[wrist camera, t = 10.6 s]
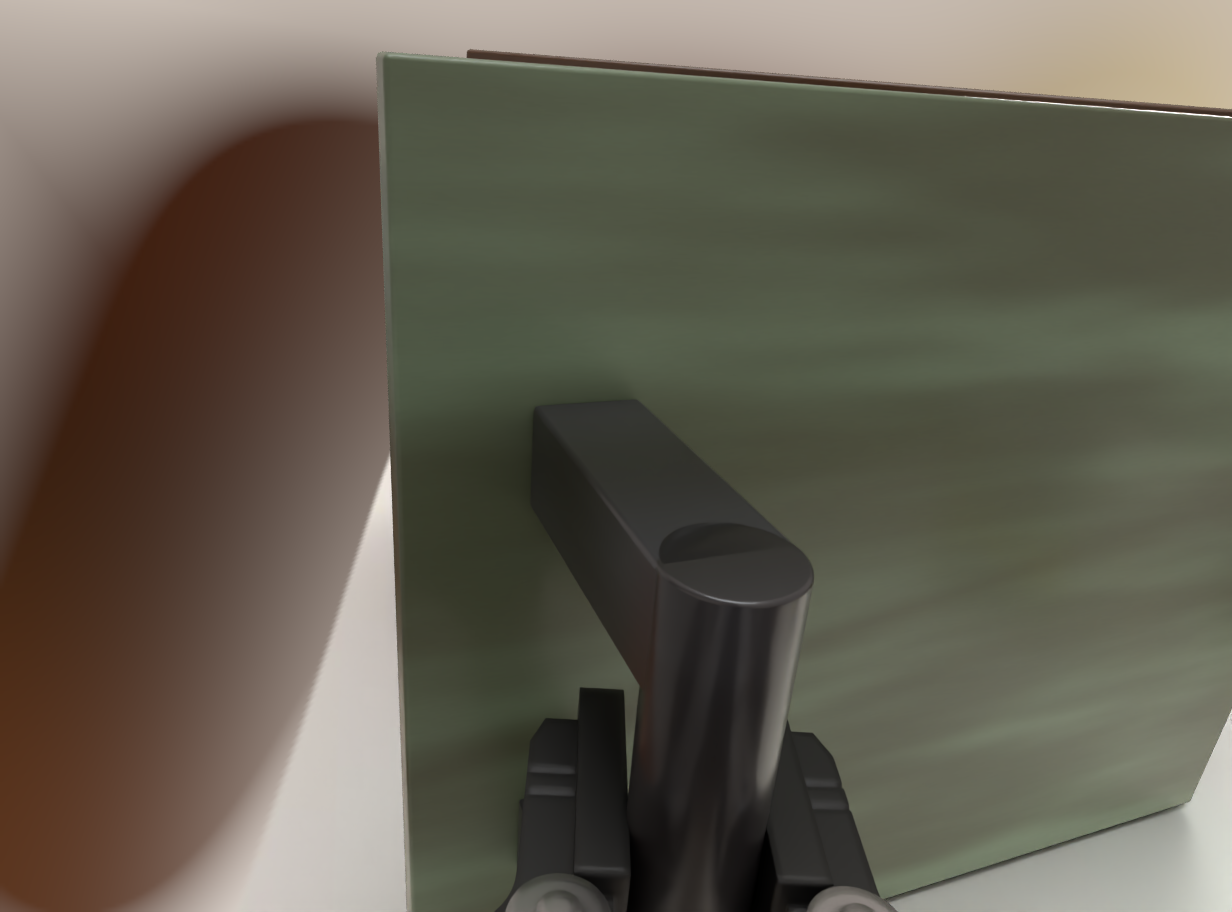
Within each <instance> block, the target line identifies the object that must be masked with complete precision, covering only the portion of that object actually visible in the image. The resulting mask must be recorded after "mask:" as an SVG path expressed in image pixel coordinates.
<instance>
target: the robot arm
mask: <svg viewBox="0 0 1232 912" xmlns="http://www.w3.org/2000/svg"><path fill="white" fill-rule="evenodd" d="M627 801H628V782H627V755H626V727H625V700H624V690H623V689H604V688H586V687H580V690H579V702H578V714H577V720H571V719H553V718H545V720H544V721H543V723H542V724H541V726H540V727H539V728H538V730H537V731H536V733H535V734H534V736H533V737H532V739H531V740H530V747H529V756H528V766H527V776H526V785H525V795H524V804H523V814H522V824H521V833H520V843H519V852H518V862H517V872H516V878H515V882H514V885H513V888H512V890H511V892H510V894H509V895H508V897H507V899H506V900H505V901H504V902H503V903H502V905H501V906H500V907H499V908H498V909H497V910H495V911H494V912H626V910H627V902H628V894H629V886H630V878H631V865H630V837H629V827H628V823H627V815H626V811H627ZM750 912H897V911H896V910H895V909H894V908H893V907H892V906H891V905H890V904H889V903H887V902H886V901H885V900H884V899H882V898H881V897H880V895H879V893H878V890H877V887H876V884H875V881H874V878H873V875H872V872H871V869H870V866H869V863H868V860H867V857H866V854H865V851H864V848H863V845H862V842H861V839H860V836H859V833H858V830H857V827H856V824H855V821H854V818H853V815H852V812H851V811H850V810H849V803H848V800H847V797H846V794H845V791H844V789H842V781H841V778H840V775H839V772H838V769H837V766H836V763H835V760H834V757H833V756H832V755H831V753H830V752H829V751H828V750H827V749H826V747H825V746H824V745H823V744H822V743H821V742H820V740H819V739H818V738H817V737H816V736H815V735H814V733H810V732H792V731H791V729H790V726H789V722H788V719H787V724H786V729H785V734H784V739H783V745H782V750H781V755H780V760H779V765H778V770H777V776H776V781H775V786H774V791H773V796H772V801H771V807H770V812H769V817H768V822H767V827H766V833H765V838H764V843H763V848H762V853H761V858H760V864H759V869H758V874H757V879H756V884H755V890H754V895H753V900H752V905H751V910H750Z"/></svg>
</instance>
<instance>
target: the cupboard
mask: <svg viewBox="0 0 1232 912" xmlns="http://www.w3.org/2000/svg"><path fill="white" fill-rule="evenodd" d="M467 58H472V59H485V60H498V61H511V62H524V63H537V64H550V65H563V66H576V67H589V68H602V69H615V70H628V71H641V72H654V73H667V74H680V75H693V76H706V77H719V78H732V79H745V80H758V81H771V82H784V83H797V84H810V85H823V86H836V87H849V88H862V89H875V90H888V91H901V92H914V93H927V94H940V95H953V96H966V97H979V98H992V99H1005V100H1018V101H1031V102H1044V103H1057V104H1070V105H1083V106H1096V107H1109V108H1122V109H1135V110H1148V111H1161V112H1174V113H1187V114H1200V115H1213V116H1226V117H1232V109H1221V108H1208V107H1194V106H1182V105H1170V104H1156V103H1144V102H1131V101H1119V100H1106V99H1094V98H1080V97H1068V96H1056V95H1043V94H1042V95H1041V94H1030V93H1017V92H1005V91H992V90H979V89H967V88H954V87H941V86H927V85H916V84H903V83H891V82H877V81H864V80H851V79H840V78H827V77H813V76H802V75H788V74H776V73H764V72H750V71H737V70H726V69H713V68H700V67H687V66H675V65H662V64H649V63H636V62H624V61H611V60H599V59H586V58H572V57H561V56H548V55H535V54H522V53H510V52H497V51H484V50H472V49H470V50H468V51H467Z"/></svg>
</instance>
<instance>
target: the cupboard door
mask: <svg viewBox="0 0 1232 912" xmlns="http://www.w3.org/2000/svg"><path fill="white" fill-rule="evenodd" d="M376 69H377V96H378V123H379V124H378V126H379V153H380V180H381V207H382V233H383V234H382V235H383V263H384V288H385V289H384V292H385V317H386V318H385V319H386V347H387V374H388V398H389V399H388V401H389V429H390V457H391V485H392V513H393V540H394V568H395V596H396V623H397V651H398V679H399V706H400V734H401V761H402V789H403V817H404V844H405V872H406V900H407V912H494V911H495V910H497V909H498V908H499V907H500V906H501V905H502V903H503V902H504V901H505V900H506V899H507V897H508V895H509V894H510V892H511V890H512V888H513V885H514V882H515V878H516V872H517V862H518V852H519V843H520V833H521V824H522V814H523V804H524V795H525V785H526V776H527V766H528V756H529V747H530V740H531V739H532V737H533V736H534V734H535V733H536V731H537V730H538V728H539V727H540V726H541V724H542V723H543V721H544V720H545V718H553V719H571V720H577V714H578V702H579V690H580V687H586V688H604V689H623V690H624V700H625V727H626V755H627V782H628V801H627V811H626V815H627V823H628V827H629V837H630V865H631V878H630V886H629V894H628V902H627V910H626V912H750V910H751V905H752V900H753V895H754V890H755V884H756V879H757V874H758V869H759V864H760V858H761V853H762V848H763V843H764V838H765V833H766V827H767V822H768V817H769V812H770V807H771V801H772V796H773V791H774V786H775V781H776V776H777V770H778V765H779V760H780V755H781V750H782V745H783V739H784V734H785V729H786V724H787V719H788V722H789V726H790V729H791V731H792V732H810V733H814V735H815V736H816V737H817V738H818V739H819V740H820V742H821V743H822V744H823V745H824V746H825V747H826V749H827V750H828V751H829V752H830V753H831V755H832V756H833V757H834V760H835V763H836V766H837V769H838V772H839V775H840V778H841V781H842V789H844V791H845V794H846V797H847V800H848V803H849V810H850V811H851V812H852V815H853V818H854V821H855V824H856V827H857V830H858V833H859V836H860V839H861V842H862V845H863V848H864V851H865V854H866V857H867V860H868V863H869V866H870V869H871V872H872V875H873V878H874V881H875V884H876V887H877V890H878V893H879V895H880V897H881V898H882V899H886V898H889V897H892V896H895V895H898V894H901V893H905V892H908V891H911V890H914V889H917V888H920V887H923V886H926V885H930V884H933V883H936V882H939V881H942V880H945V879H948V878H952V877H955V876H958V875H961V874H964V873H967V872H970V871H973V870H977V869H980V868H983V867H986V866H989V865H992V864H995V863H998V862H1002V861H1005V860H1008V859H1011V858H1014V857H1017V856H1020V855H1024V854H1027V853H1030V852H1033V851H1036V850H1039V849H1042V848H1045V847H1049V846H1052V845H1055V844H1058V843H1061V842H1064V841H1067V840H1070V839H1074V838H1077V837H1080V836H1083V835H1086V834H1089V833H1092V832H1096V831H1099V830H1102V829H1105V828H1108V827H1111V826H1114V825H1117V824H1121V823H1124V822H1127V821H1130V820H1133V819H1136V818H1139V817H1143V816H1146V815H1149V814H1152V813H1155V812H1158V811H1161V810H1164V809H1168V808H1171V807H1174V806H1177V805H1180V804H1183V803H1186V802H1189V801H1190V800H1191V798H1192V796H1193V793H1194V791H1195V789H1196V787H1197V785H1198V782H1199V780H1200V778H1201V776H1202V774H1203V771H1204V769H1205V767H1206V765H1207V763H1208V760H1209V758H1210V756H1211V754H1212V751H1213V749H1214V747H1215V745H1216V743H1217V740H1218V738H1219V736H1220V734H1221V732H1222V729H1223V727H1224V725H1225V723H1226V721H1227V718H1228V716H1229V714H1230V712H1231V710H1232V117H1226V116H1213V115H1200V114H1187V113H1174V112H1161V111H1148V110H1135V109H1122V108H1109V107H1096V106H1083V105H1070V104H1057V103H1044V102H1031V101H1018V100H1005V99H992V98H979V97H966V96H953V95H940V94H927V93H914V92H901V91H888V90H875V89H862V88H849V87H836V86H823V85H810V84H797V83H784V82H771V81H758V80H745V79H732V78H719V77H706V76H693V75H680V74H667V73H654V72H641V71H628V70H615V69H602V68H589V67H576V66H563V65H550V64H537V63H524V62H511V61H498V60H485V59H472V58H459V57H446V56H433V55H420V54H407V53H394V52H380V53H378V54H377V57H376Z"/></svg>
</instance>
